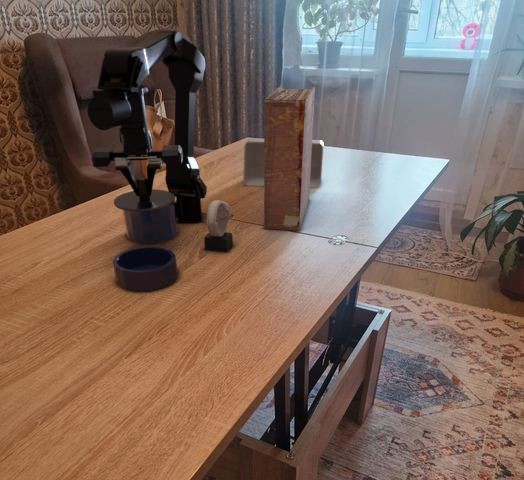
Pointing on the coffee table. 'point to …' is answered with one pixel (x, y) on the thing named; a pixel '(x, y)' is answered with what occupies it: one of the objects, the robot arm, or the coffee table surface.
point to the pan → (145, 268)
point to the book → (287, 156)
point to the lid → (144, 198)
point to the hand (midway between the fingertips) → (144, 195)
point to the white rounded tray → (255, 162)
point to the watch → (218, 227)
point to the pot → (151, 224)
